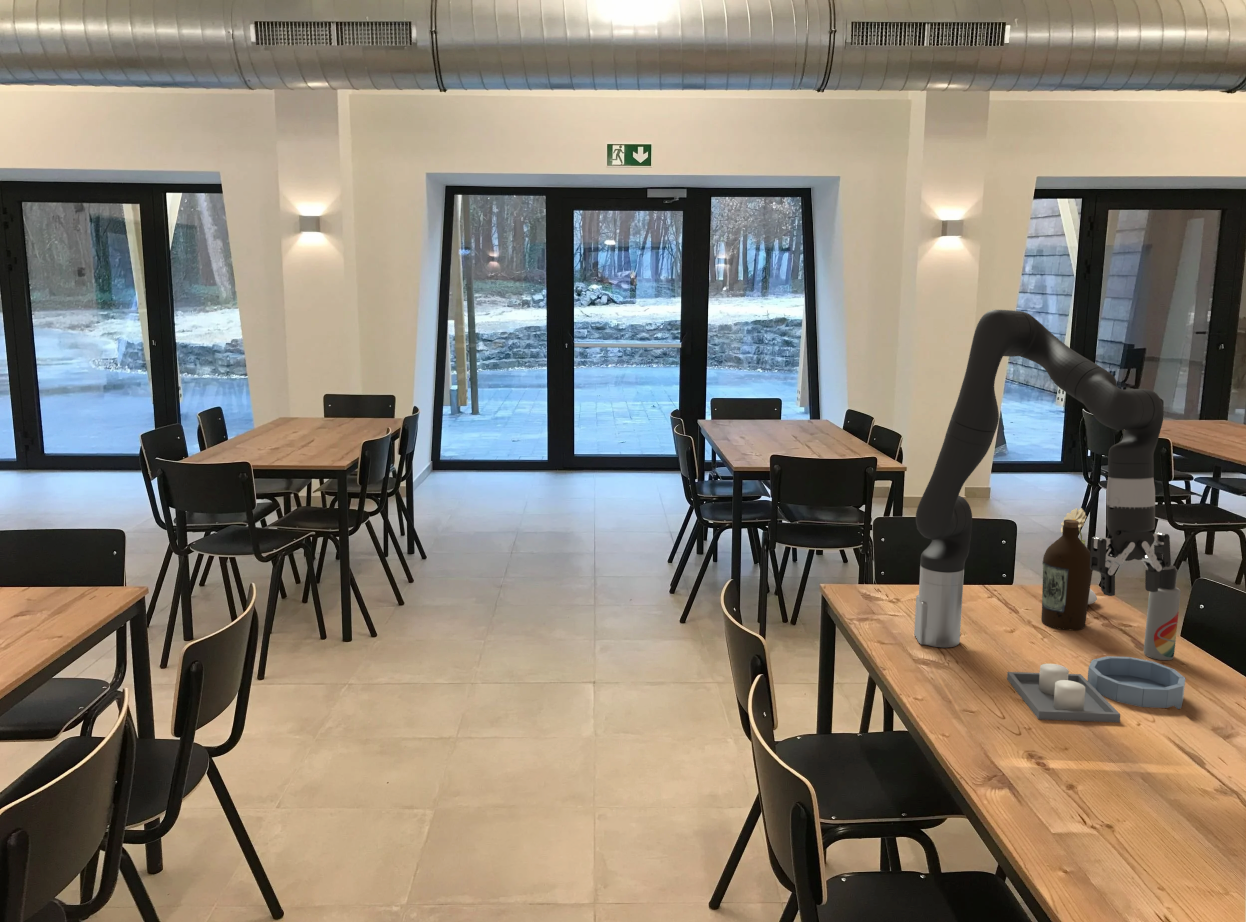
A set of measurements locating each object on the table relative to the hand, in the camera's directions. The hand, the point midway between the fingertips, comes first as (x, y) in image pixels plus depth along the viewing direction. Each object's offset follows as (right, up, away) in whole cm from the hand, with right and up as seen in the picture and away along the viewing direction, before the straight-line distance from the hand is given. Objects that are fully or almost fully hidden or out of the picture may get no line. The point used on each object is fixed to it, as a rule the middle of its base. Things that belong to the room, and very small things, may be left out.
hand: (1130, 593), depth 163 cm
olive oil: (+14, -15, +54) cm, 58 cm away
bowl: (+9, -22, +15) cm, 28 cm away
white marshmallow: (-8, -22, +7) cm, 25 cm away
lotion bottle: (+25, -19, +34) cm, 46 cm away
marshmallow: (-7, -21, +14) cm, 26 cm away
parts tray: (-7, -23, +11) cm, 26 cm away
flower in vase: (+24, -13, +69) cm, 74 cm away
